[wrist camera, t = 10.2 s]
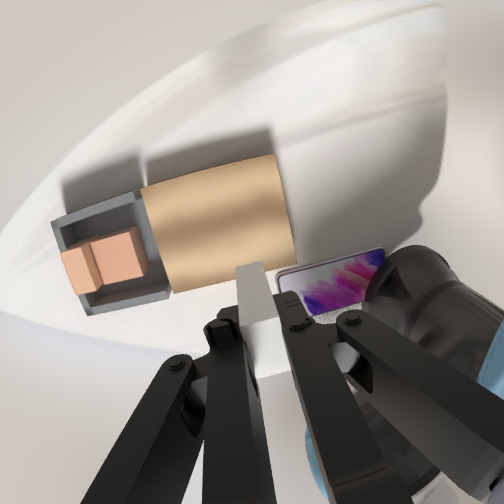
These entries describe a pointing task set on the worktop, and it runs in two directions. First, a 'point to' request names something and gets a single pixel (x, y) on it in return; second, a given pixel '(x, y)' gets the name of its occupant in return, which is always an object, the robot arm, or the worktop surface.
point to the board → (220, 222)
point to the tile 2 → (120, 255)
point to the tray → (106, 221)
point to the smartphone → (332, 281)
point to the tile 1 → (82, 266)
